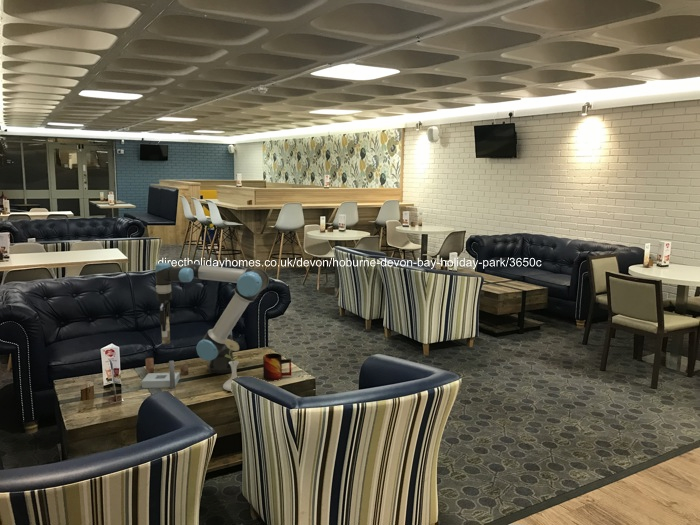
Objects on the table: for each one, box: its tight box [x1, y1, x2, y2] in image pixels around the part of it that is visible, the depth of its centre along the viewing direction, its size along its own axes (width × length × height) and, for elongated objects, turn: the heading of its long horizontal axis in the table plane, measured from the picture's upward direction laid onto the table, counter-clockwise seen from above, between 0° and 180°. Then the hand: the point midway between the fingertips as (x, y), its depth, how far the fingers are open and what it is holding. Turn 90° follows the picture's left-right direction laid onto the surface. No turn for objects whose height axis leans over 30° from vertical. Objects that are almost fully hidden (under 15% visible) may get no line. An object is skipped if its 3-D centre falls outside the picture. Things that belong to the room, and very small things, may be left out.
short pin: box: [179, 363, 189, 377], centre depth 299 cm, size 4×4×5 cm
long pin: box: [160, 316, 171, 345], centre depth 296 cm, size 4×4×14 cm
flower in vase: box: [222, 339, 240, 392], centre depth 277 cm, size 13×11×25 cm
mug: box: [262, 352, 292, 382], centre depth 295 cm, size 10×14×12 cm
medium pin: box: [145, 357, 155, 376], centre depth 298 cm, size 4×4×9 cm
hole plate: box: [141, 360, 181, 390], centre depth 284 cm, size 17×15×14 cm
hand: (165, 335), depth 296 cm, fingers closed on long pin, 4 cm apart
